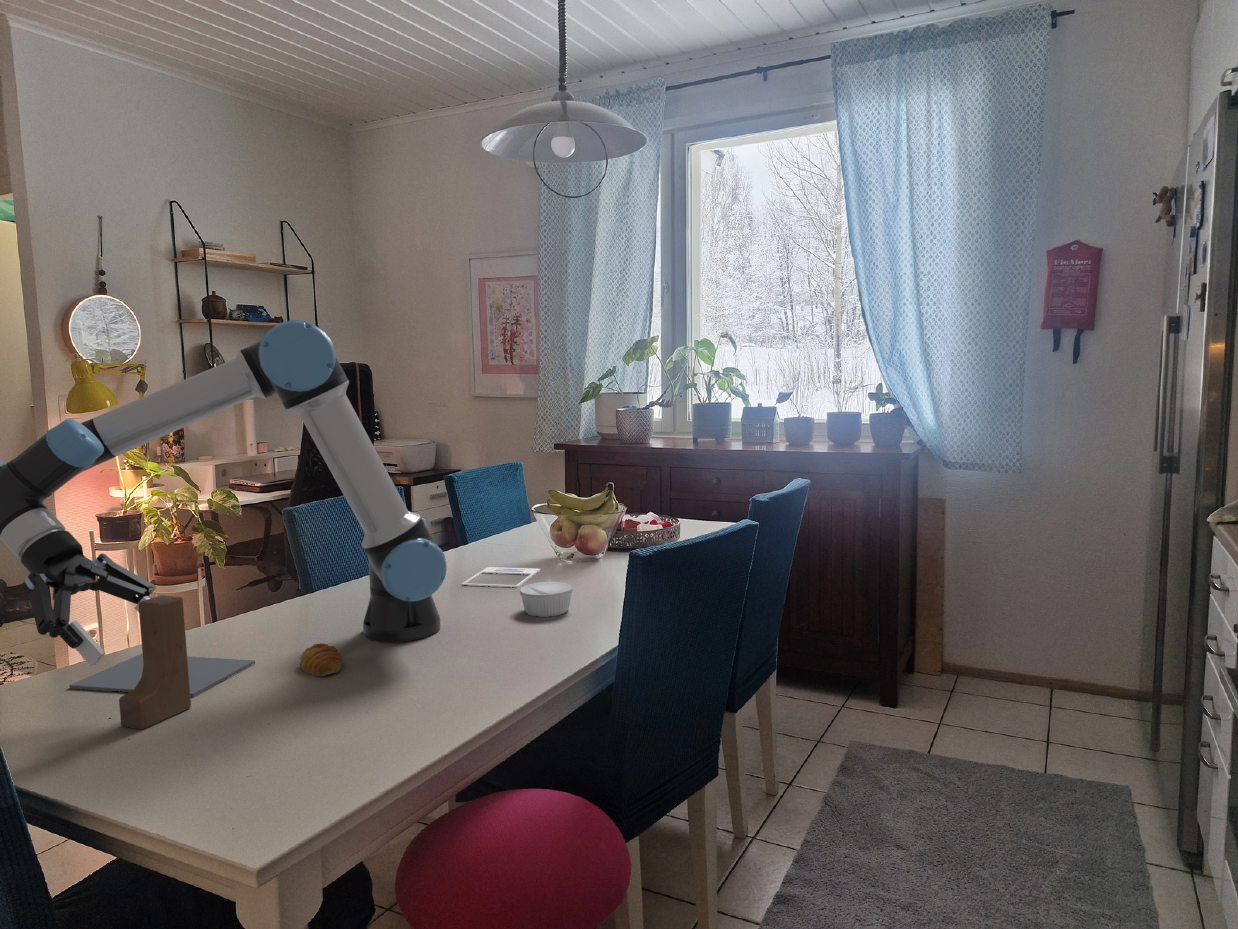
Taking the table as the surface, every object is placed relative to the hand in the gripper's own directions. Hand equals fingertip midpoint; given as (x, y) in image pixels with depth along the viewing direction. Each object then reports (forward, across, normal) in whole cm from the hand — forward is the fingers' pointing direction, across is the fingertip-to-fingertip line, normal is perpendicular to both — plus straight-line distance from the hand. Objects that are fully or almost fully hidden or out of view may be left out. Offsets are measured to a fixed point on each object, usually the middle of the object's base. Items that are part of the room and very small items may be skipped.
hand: (135, 644), depth 128 cm
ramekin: (+40, -65, +24) cm, 80 cm away
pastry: (+20, -25, +3) cm, 32 cm away
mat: (+1, -17, -15) cm, 22 cm away
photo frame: (+26, -92, +9) cm, 96 cm away
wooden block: (+10, -1, -7) cm, 12 cm away
